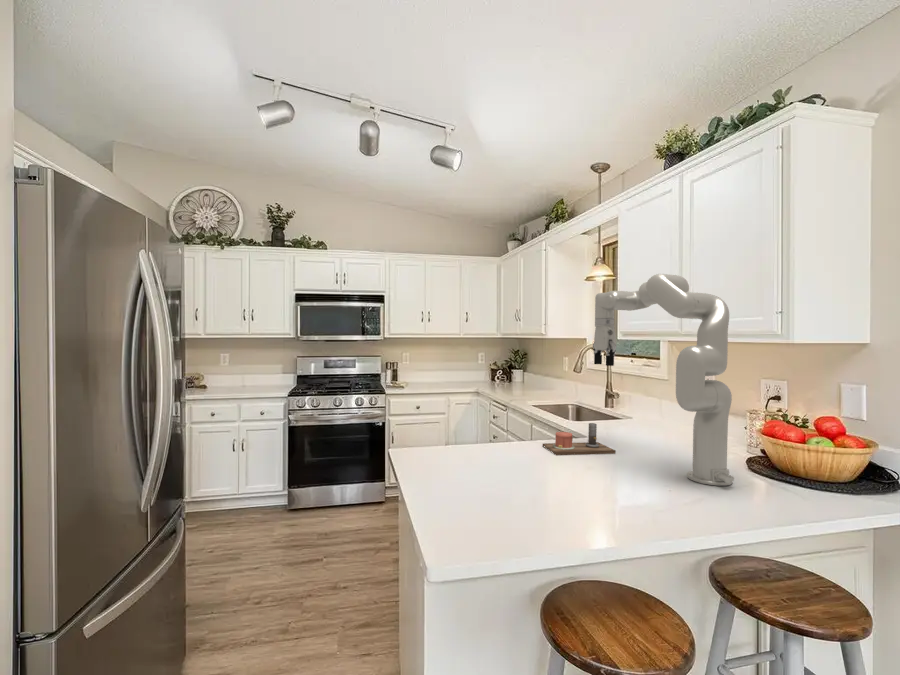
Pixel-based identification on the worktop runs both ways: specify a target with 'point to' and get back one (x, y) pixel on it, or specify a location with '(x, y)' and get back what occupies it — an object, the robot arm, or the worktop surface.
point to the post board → (582, 446)
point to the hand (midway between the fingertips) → (603, 364)
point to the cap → (563, 440)
